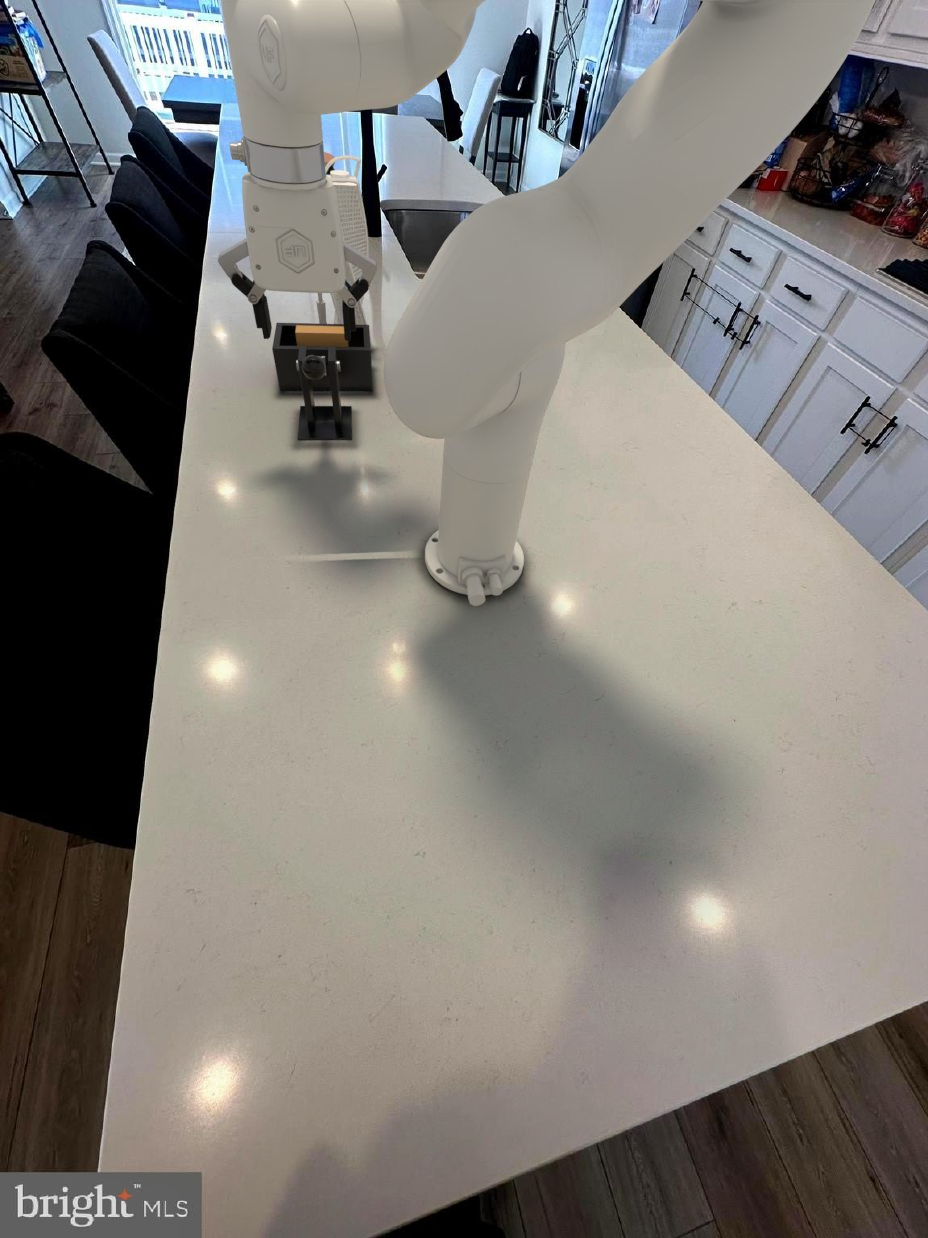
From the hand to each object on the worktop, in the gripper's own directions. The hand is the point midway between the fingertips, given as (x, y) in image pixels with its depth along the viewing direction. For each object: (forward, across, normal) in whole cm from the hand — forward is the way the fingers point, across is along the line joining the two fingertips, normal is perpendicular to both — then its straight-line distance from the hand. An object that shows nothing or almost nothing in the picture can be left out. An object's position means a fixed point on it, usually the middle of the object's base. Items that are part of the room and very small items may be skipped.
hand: (308, 334), depth 69 cm
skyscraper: (+18, +4, +33) cm, 38 cm away
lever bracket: (+18, 0, +7) cm, 19 cm away
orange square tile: (+17, 0, +21) cm, 27 cm away
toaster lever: (+7, 0, +3) cm, 8 cm away
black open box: (+18, 0, +21) cm, 27 cm away
